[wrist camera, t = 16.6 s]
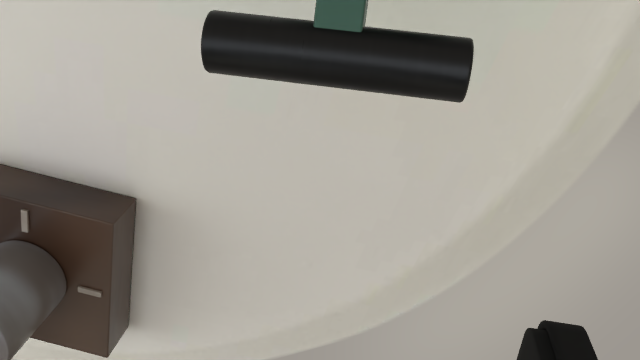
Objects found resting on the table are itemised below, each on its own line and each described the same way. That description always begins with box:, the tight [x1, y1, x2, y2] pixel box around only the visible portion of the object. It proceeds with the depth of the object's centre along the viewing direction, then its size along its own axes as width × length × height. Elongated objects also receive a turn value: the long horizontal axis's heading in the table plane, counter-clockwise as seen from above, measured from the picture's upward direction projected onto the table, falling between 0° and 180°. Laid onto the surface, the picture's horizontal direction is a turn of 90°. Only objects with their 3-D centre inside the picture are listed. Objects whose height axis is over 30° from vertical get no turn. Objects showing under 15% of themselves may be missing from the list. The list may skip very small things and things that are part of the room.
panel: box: [0, 164, 136, 358], centre depth 35 cm, size 10×10×3 cm
